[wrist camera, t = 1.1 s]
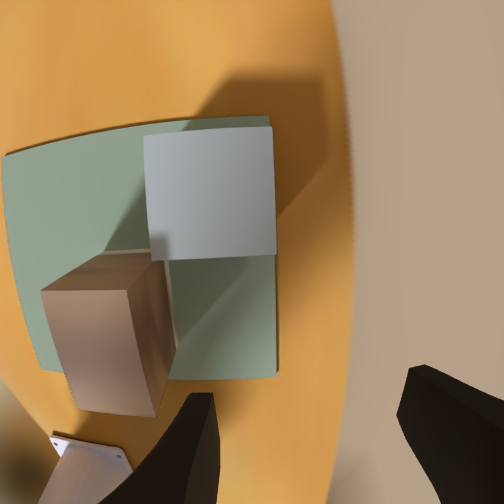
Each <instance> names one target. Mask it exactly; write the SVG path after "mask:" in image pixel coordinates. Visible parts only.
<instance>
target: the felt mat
mask: <svg viewBox="0 0 504 504" xmlns="http://www.w3.org/2000/svg"><path fill="white" fill-rule="evenodd" d="M238 127H270V116H239V117H219V118H205V119H192V120H182V121H172V122H163V123H155V124H148V125H141V126H134V127H127V128H121V129H115V130H109V131H104V132H99V133H93V134H89V135H84V136H79V137H74V138H70V139H66V140H61V141H57V142H53V143H49V144H45V145H41V146H38V147H34V148H30V149H27V150H23V151H20V152H17V153H13V154H10V155H7V156H4V157H2V189H3V203H4V214H5V223H6V231H7V239H8V245H9V252H10V258H11V263H12V268H13V273H14V278H15V283H16V287H17V292H18V296H19V300H20V304H21V308H22V311H23V315H24V319H25V322H26V325H27V329H28V332H29V335H30V338H31V342H32V345H33V348H34V350H35V353H36V356H37V359H38V362H39V364H40V367H41V370H48V371H55V372H62V373H64V372H63V369H62V366H61V363H60V360H59V357H58V354H57V351H56V348H55V345H54V342H53V339H52V335H51V332H50V329H49V325H48V321H47V318H46V314H45V310H44V306H43V302H42V298H41V294H40V290H42V289H43V288H45V287H46V286H48V285H49V284H51V283H52V282H54V281H56V280H57V279H59V278H60V277H62V276H64V275H65V274H67V273H68V272H70V271H72V270H73V269H75V268H76V267H78V266H80V265H81V264H83V263H85V262H86V261H88V260H90V259H91V258H93V257H95V256H96V255H98V254H100V253H101V252H103V251H117V250H133V249H150V239H149V229H148V218H147V205H146V191H145V173H144V148H143V136H146V135H154V134H162V133H171V132H181V131H192V130H204V129H219V128H238ZM168 262H169V271H170V280H171V288H172V296H173V304H174V311H175V318H176V325H177V331H178V338H179V344H178V348H177V351H176V354H175V357H174V360H173V363H172V367H171V370H170V373H169V376H168V380H232V379H251V378H266V377H276V295H275V255H259V256H240V257H220V258H201V259H181V260H168Z"/></svg>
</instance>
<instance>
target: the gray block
mask: <svg viewBox="0 0 504 504" xmlns="http://www.w3.org/2000/svg"><path fill="white" fill-rule="evenodd" d="M143 148H144V173H145V191H146V205H147V218H148V229H149V239H150V249H151V258H152V261H161V260H181V259H201V258H220V257H240V256H259V255H277V245H276V210H275V181H274V156H273V133H272V127H238V128H219V129H204V130H192V131H181V132H171V133H162V134H154V135H146V136H143Z"/></svg>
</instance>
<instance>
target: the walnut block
mask: <svg viewBox="0 0 504 504" xmlns="http://www.w3.org/2000/svg"><path fill="white" fill-rule="evenodd" d="M40 294H41V298H42V302H43V306H44V310H45V314H46V318H47V321H48V325H49V329H50V332H51V335H52V339H53V342H54V345H55V348H56V351H57V354H58V357H59V360H60V363H61V366H62V369H63V372H64V374H65V377H66V380H67V382H68V385H69V388H70V390H71V393H72V395H73V397H74V400H75V402H76V405H77V407H78V409H81V410H87V411H94V412H102V413H110V414H119V415H129V416H141V417H156V416H157V413H158V410H159V406H160V403H161V399H162V396H163V393H164V389H165V386H166V383H167V380H168V376H169V373H170V370H171V367H172V363H173V360H174V357H175V354H176V351H177V348H178V344H179V338H178V331H177V325H176V318H175V311H174V304H173V296H172V288H171V280H170V271H169V262H168V260H161V261H152V258H151V249H133V250H117V251H103V252H101V253H100V254H98V255H96V256H95V257H93V258H91V259H90V260H88V261H86V262H85V263H83V264H81V265H80V266H78V267H76V268H75V269H73V270H72V271H70V272H68V273H67V274H65V275H64V276H62V277H60V278H59V279H57V280H56V281H54V282H52V283H51V284H49V285H48V286H46V287H45V288H43V289H42V290H40Z"/></svg>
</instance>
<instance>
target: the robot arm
mask: <svg viewBox="0 0 504 504" xmlns="http://www.w3.org/2000/svg"><path fill="white" fill-rule="evenodd" d="M396 416H397V418H398V421H399V424H400V426H401V429H402V431H403V433H404V436H405V438H406V440H407V442H408V444H409V446H410V447H411V449H412V451H413V452H414V454H415V456H416V458H417V459H418V461H419V463H420V464H421V466H422V468H423V469H424V471H425V473H426V475H427V476H428V478H429V480H430V481H431V483H432V485H433V487H434V489H435V491H436V493H437V495H438V497H439V500H440V502H441V504H504V400H501V399H498V398H496V397H494V396H491V395H489V394H487V393H484V392H482V391H480V390H478V389H476V388H474V387H471V386H469V385H467V384H465V383H463V382H461V381H459V380H457V379H455V378H453V377H451V376H449V375H447V374H445V373H443V372H441V371H439V370H437V369H434V368H432V367H430V366H427V365H425V364H424V365H420V366H416V367H412V368H409V370H408V375H407V379H406V383H405V386H404V390H403V394H402V397H401V401H400V405H399V408H398V411H397V414H396ZM50 440H51V442H52V444H53V445H54V447H55V449H56V451H57V452H58V454H59V455H60V457H61V458H60V460H59V462H58V464H57V466H56V468H55V470H54V472H53V474H52V476H51V478H50V480H49V482H48V484H47V486H46V488H45V490H44V492H43V494H42V496H41V498H40V501H39V503H38V504H216V502H217V493H218V484H219V476H220V436H219V430H218V424H217V417H216V411H215V404H214V397H213V393H191V394H190V395H188V397H187V399H186V401H185V402H184V404H183V406H182V407H181V409H180V411H179V412H178V414H177V416H176V417H175V419H174V420H173V422H172V423H171V425H170V426H169V428H168V429H167V430H166V432H165V433H164V435H163V436H162V437H161V439H160V440H159V441H158V443H157V444H156V445H155V447H154V448H153V449H152V450H151V451H150V453H149V454H148V455H147V456H146V457H145V459H144V460H143V461H142V462H141V463H140V465H139V466H138V467H137V468H136V469H135V470H134V471H133V470H132V468H131V466H130V464H129V462H128V460H127V458H126V455H125V453H124V451H123V450H122V449H121V448H118V447H112V446H105V445H99V444H93V443H88V442H83V441H78V440H73V439H68V438H64V437H60V436H56V435H51V436H50Z"/></svg>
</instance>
